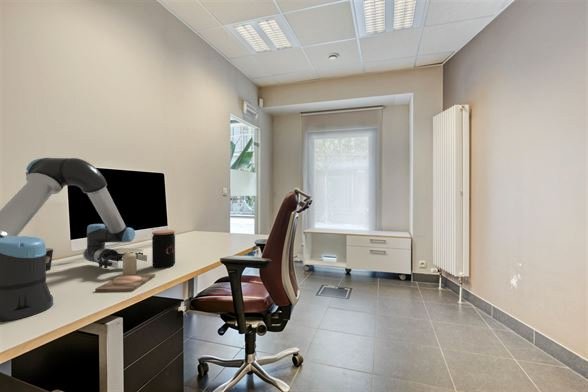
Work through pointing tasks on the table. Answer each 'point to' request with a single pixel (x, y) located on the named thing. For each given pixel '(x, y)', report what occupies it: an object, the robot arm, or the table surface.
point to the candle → (130, 263)
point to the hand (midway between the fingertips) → (132, 261)
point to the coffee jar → (163, 248)
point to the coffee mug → (48, 258)
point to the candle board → (125, 283)
